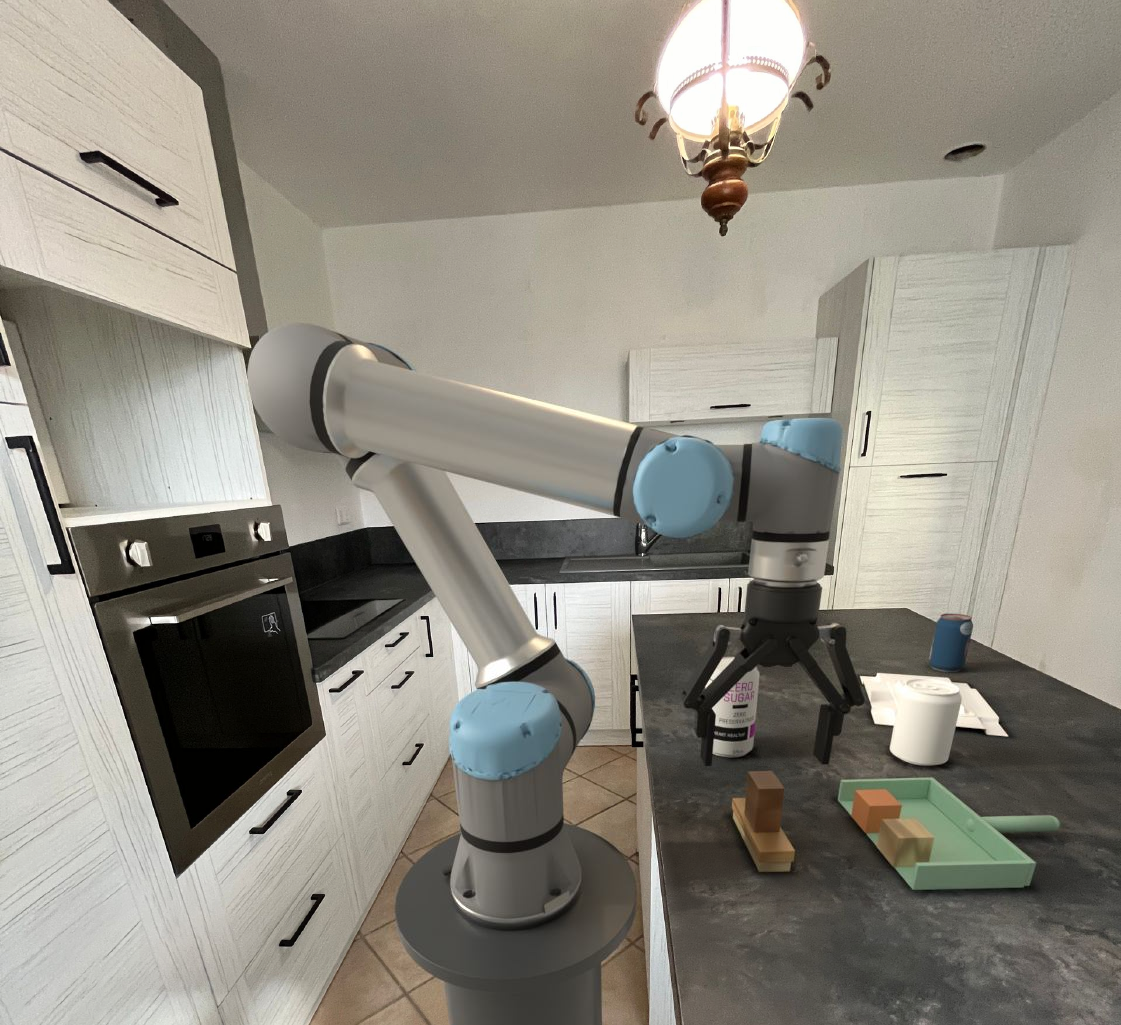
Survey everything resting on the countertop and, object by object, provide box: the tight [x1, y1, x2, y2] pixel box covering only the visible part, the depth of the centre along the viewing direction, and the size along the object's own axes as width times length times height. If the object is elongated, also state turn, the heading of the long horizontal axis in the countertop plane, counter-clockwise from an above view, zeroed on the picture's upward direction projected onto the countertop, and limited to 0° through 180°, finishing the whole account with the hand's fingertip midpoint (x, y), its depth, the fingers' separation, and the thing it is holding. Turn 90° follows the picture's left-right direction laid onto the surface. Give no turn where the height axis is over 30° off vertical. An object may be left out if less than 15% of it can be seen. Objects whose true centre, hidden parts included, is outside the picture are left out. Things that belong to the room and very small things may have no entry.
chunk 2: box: [876, 818, 934, 868], centre depth 69 cm, size 4×4×4 cm
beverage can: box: [889, 679, 962, 767], centre depth 91 cm, size 8×8×12 cm
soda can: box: [928, 613, 974, 673], centre depth 131 cm, size 7×7×12 cm
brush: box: [731, 770, 796, 873], centre depth 72 cm, size 4×12×9 cm, turn 179°
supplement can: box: [704, 656, 760, 758], centre depth 96 cm, size 8×8×15 cm
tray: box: [859, 672, 1009, 737], centre depth 114 cm, size 20×28×4 cm
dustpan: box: [837, 777, 1061, 891], centre depth 73 cm, size 23×19×3 cm
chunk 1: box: [850, 789, 902, 834], centre depth 76 cm, size 4×4×4 cm
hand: (763, 760), depth 70 cm, fingers open, 13 cm apart
